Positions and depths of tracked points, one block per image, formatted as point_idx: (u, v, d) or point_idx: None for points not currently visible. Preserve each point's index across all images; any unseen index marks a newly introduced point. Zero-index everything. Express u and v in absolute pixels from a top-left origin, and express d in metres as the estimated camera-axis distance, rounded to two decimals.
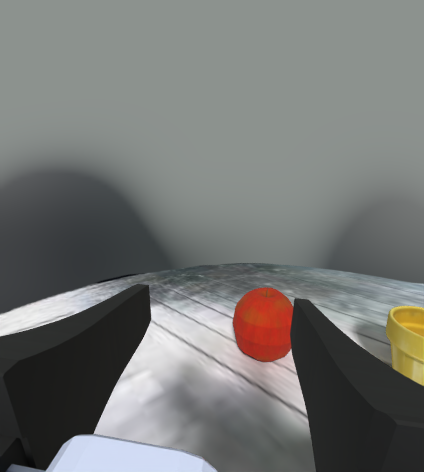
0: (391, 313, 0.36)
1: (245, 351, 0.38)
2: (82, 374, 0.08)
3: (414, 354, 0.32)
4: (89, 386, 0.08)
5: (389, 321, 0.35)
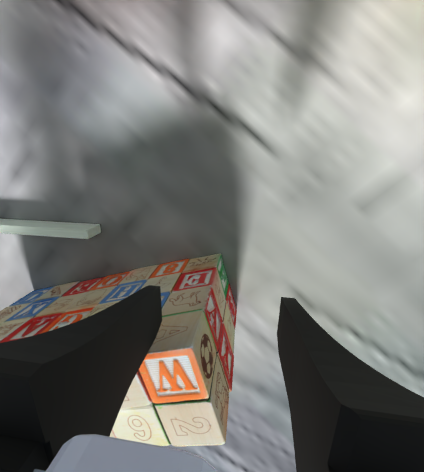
0: None
1: None
2: (100, 377, 0.08)
3: None
4: (106, 389, 0.08)
5: None
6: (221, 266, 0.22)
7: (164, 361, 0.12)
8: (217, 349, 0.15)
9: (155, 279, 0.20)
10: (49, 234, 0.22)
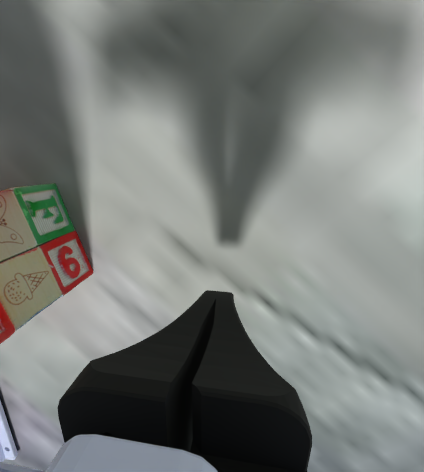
0: None
1: None
2: (191, 390, 0.07)
3: None
4: None
5: None
6: (48, 199, 0.14)
7: None
8: None
9: None
10: None
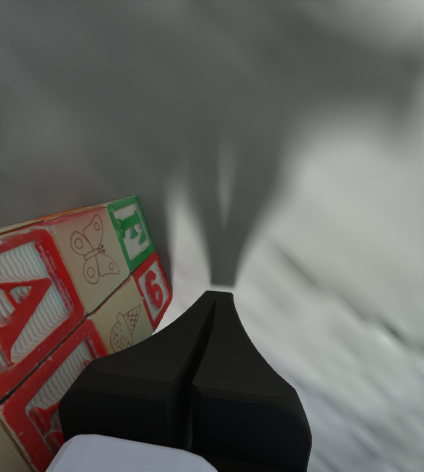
0: None
1: None
2: (191, 390, 0.07)
3: None
4: None
5: None
6: (133, 215, 0.12)
7: None
8: None
9: None
10: None
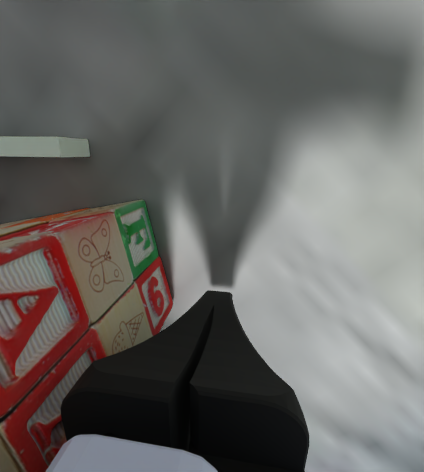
0: None
1: None
2: None
3: None
4: None
5: None
6: (139, 220, 0.12)
7: None
8: None
9: None
10: None
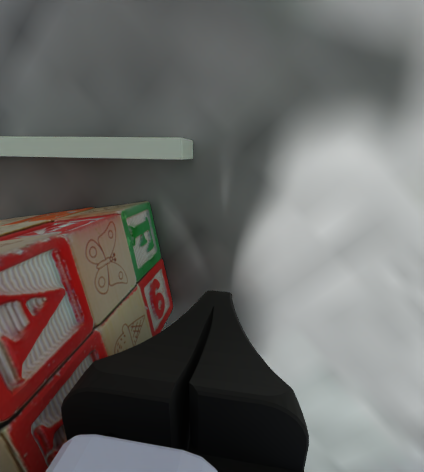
0: None
1: None
2: None
3: None
4: None
5: None
6: (143, 222, 0.12)
7: None
8: (4, 414, 0.05)
9: None
10: (92, 153, 0.10)
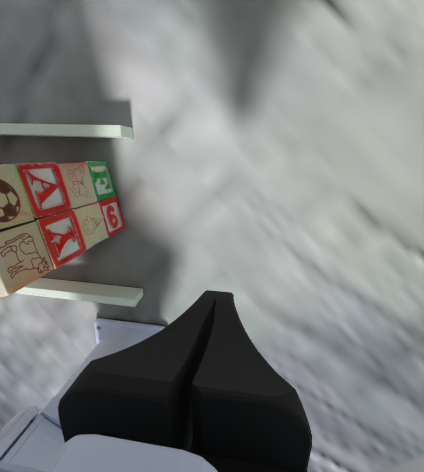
0: None
1: None
2: (191, 390, 0.07)
3: None
4: None
5: None
6: (103, 172, 0.21)
7: None
8: (37, 214, 0.14)
9: None
10: (75, 133, 0.19)
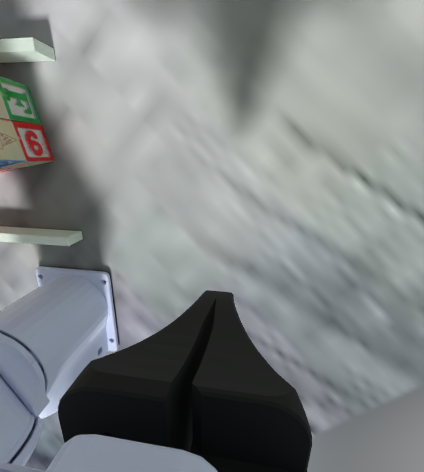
0: None
1: None
2: (191, 390, 0.07)
3: None
4: None
5: None
6: (21, 94, 0.20)
7: None
8: None
9: None
10: None
